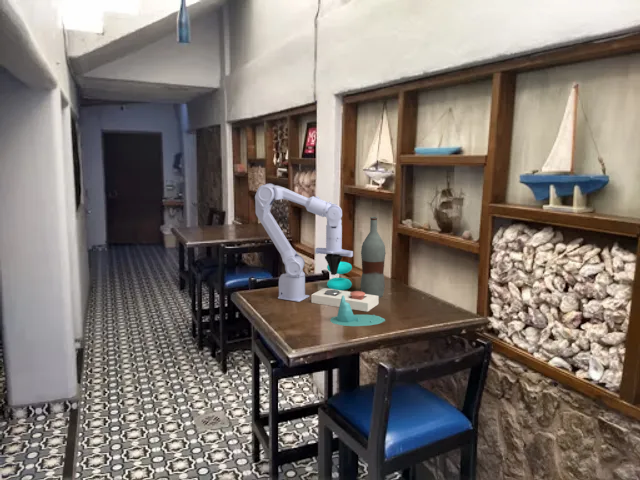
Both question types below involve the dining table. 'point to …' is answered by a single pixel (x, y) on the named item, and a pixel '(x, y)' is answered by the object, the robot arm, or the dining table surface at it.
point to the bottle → (373, 262)
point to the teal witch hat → (353, 316)
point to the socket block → (355, 304)
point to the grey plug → (332, 292)
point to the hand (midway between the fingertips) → (333, 274)
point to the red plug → (357, 295)
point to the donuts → (340, 282)
